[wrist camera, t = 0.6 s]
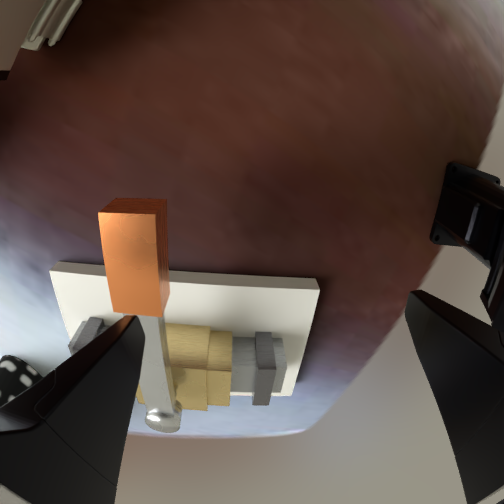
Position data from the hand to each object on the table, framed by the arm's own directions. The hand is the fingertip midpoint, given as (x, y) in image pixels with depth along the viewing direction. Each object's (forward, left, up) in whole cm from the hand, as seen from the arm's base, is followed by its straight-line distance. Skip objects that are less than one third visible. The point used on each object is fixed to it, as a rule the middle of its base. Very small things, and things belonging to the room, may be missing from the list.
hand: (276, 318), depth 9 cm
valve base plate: (+5, +11, -11) cm, 17 cm away
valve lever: (+5, +5, -5) cm, 9 cm away
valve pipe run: (+5, +11, -10) cm, 16 cm away
